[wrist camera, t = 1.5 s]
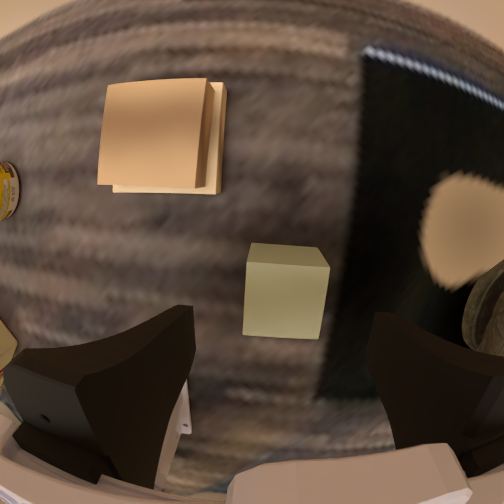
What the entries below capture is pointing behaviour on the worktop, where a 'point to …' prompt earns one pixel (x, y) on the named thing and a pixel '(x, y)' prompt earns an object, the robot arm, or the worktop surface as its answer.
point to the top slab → (156, 133)
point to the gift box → (6, 348)
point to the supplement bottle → (8, 190)
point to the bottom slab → (213, 153)
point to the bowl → (486, 313)
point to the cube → (284, 291)
